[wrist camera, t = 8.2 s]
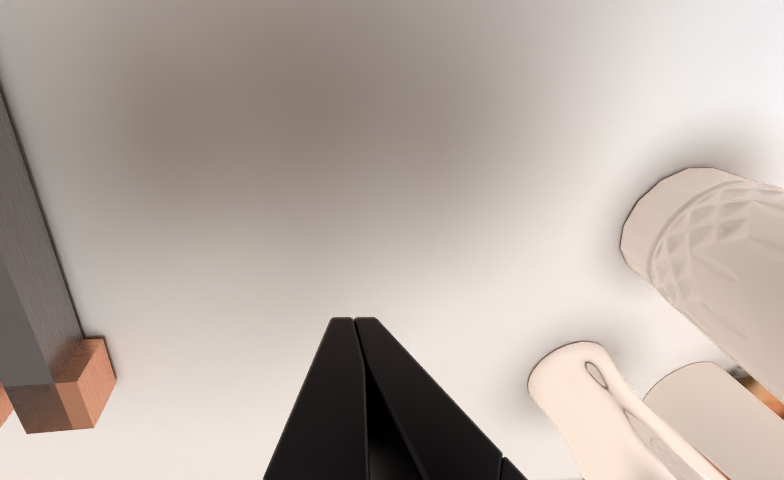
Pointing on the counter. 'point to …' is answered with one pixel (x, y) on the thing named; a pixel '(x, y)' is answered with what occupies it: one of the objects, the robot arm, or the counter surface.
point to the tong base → (4, 406)
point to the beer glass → (611, 421)
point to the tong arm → (41, 315)
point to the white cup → (717, 262)
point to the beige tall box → (722, 420)
